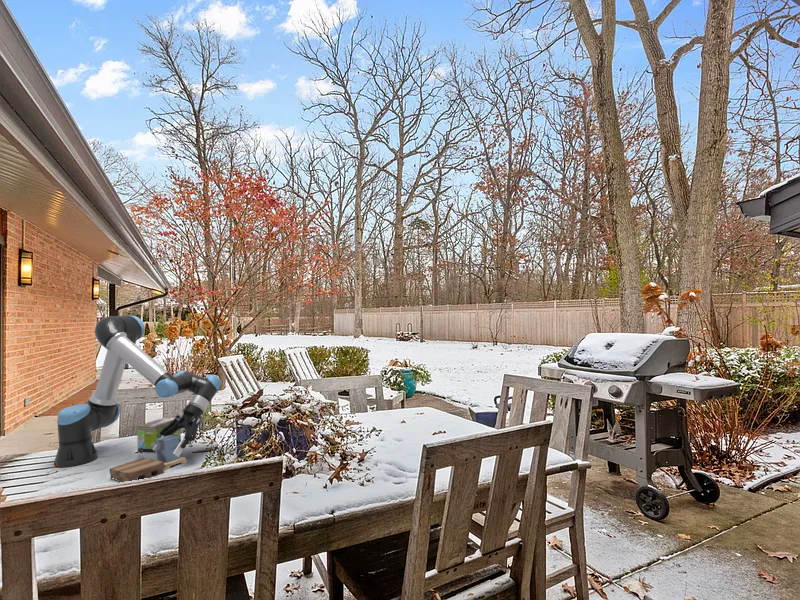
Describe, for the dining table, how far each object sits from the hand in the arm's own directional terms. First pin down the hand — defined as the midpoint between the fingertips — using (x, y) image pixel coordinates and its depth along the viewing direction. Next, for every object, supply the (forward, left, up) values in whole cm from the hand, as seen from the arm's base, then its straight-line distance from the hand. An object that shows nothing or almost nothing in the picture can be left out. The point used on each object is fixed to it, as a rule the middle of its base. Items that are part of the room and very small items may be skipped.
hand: (165, 453), depth 188 cm
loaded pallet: (0, +2, -5) cm, 5 cm away
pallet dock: (0, -11, -5) cm, 12 cm away
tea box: (-16, +8, -5) cm, 19 cm away
